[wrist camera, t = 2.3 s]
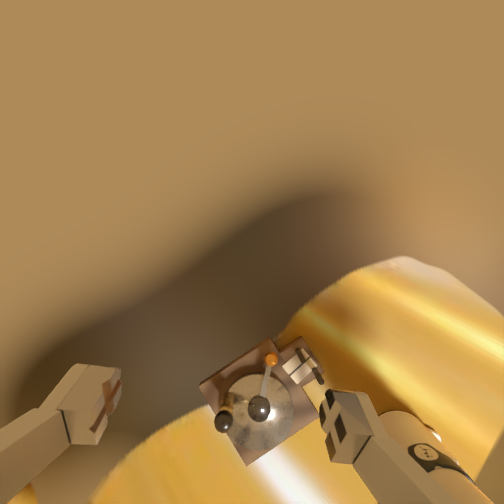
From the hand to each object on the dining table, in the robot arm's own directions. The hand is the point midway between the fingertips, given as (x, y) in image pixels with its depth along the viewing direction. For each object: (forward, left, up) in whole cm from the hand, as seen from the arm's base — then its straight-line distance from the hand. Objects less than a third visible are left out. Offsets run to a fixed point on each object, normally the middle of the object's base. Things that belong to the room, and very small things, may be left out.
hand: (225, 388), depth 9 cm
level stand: (-24, 0, -49) cm, 55 cm away
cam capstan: (-24, +3, -47) cm, 53 cm away
